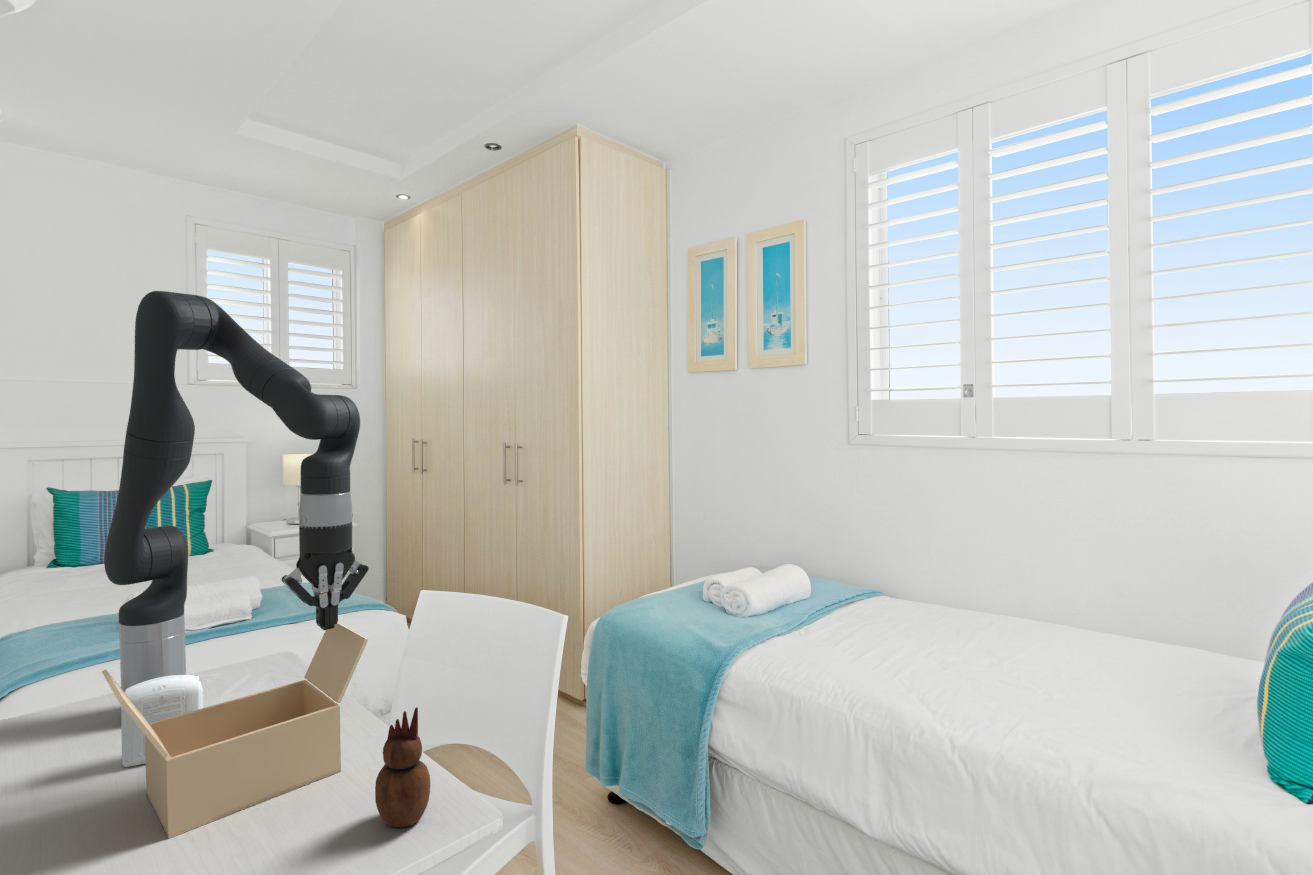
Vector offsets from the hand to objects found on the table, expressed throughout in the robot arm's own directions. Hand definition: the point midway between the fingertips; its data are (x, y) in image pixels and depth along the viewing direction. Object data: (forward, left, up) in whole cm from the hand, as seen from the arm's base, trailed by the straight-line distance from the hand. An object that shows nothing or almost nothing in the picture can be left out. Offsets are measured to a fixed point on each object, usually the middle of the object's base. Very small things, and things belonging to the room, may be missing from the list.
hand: (326, 628), depth 104 cm
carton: (+2, -12, -19) cm, 23 cm away
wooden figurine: (+27, -1, -20) cm, 33 cm away
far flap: (+2, 0, -5) cm, 5 cm away
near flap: (+2, -24, -5) cm, 25 cm away
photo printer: (-16, -19, -20) cm, 31 cm away
